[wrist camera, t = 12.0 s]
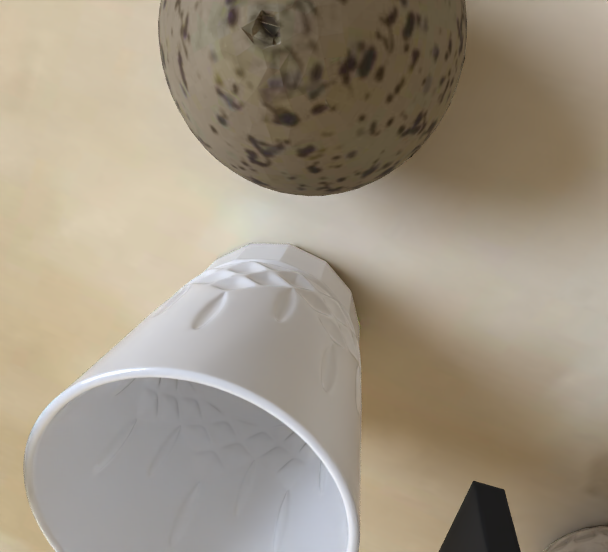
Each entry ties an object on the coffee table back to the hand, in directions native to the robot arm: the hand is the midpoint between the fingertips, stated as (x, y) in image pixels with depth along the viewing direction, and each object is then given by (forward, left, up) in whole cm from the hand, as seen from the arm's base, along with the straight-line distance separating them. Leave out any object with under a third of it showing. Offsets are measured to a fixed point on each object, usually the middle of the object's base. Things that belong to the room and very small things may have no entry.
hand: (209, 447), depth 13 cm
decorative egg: (-9, -3, -8) cm, 13 cm away
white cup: (0, 0, -8) cm, 8 cm away
